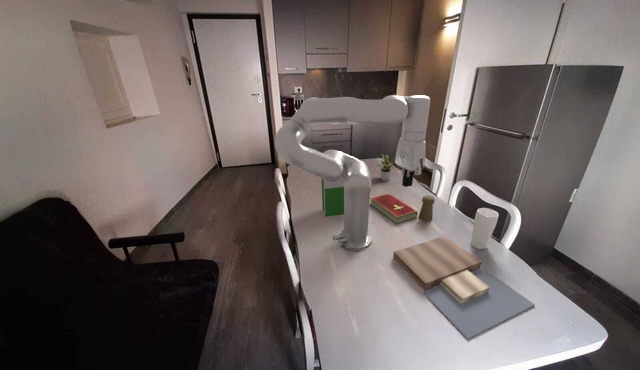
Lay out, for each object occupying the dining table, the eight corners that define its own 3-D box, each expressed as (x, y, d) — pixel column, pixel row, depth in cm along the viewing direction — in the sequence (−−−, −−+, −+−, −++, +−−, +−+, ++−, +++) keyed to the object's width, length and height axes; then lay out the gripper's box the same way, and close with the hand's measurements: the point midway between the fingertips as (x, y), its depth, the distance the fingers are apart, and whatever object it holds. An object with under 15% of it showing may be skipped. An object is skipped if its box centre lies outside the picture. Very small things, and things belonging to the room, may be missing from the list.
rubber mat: (467, 339, 63) (467, 338, 63) (422, 292, 77) (423, 291, 77) (534, 305, 71) (534, 304, 71) (483, 268, 85) (483, 267, 85)
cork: (423, 222, 112) (427, 200, 107) (415, 215, 117) (418, 194, 113) (435, 219, 113) (439, 198, 109) (426, 213, 119) (430, 192, 114)
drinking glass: (481, 239, 99) (490, 207, 93) (492, 250, 93) (503, 216, 87) (464, 240, 99) (473, 208, 93) (475, 251, 93) (484, 217, 87)
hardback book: (325, 216, 119) (324, 170, 109) (322, 209, 126) (321, 164, 116) (360, 212, 122) (362, 166, 112) (355, 205, 128) (357, 161, 118)
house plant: (368, 176, 163) (369, 152, 156) (387, 173, 166) (389, 149, 159) (379, 184, 150) (381, 159, 143) (399, 181, 154) (402, 156, 147)
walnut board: (424, 290, 78) (425, 283, 76) (393, 258, 91) (393, 251, 90) (479, 268, 85) (481, 261, 84) (443, 242, 99) (444, 235, 97)
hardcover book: (388, 199, 134) (388, 192, 132) (416, 218, 116) (417, 210, 114) (369, 204, 129) (370, 197, 127) (396, 224, 112) (397, 216, 110)
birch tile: (460, 303, 72) (462, 298, 71) (439, 284, 79) (440, 279, 78) (488, 292, 76) (489, 287, 75) (465, 274, 83) (466, 269, 82)
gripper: (390, 132, 87) (386, 180, 95) (420, 141, 74) (412, 196, 82) (407, 129, 89) (402, 176, 97) (439, 138, 77) (430, 191, 84)
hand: (407, 185), depth 89 cm, fingers closed
